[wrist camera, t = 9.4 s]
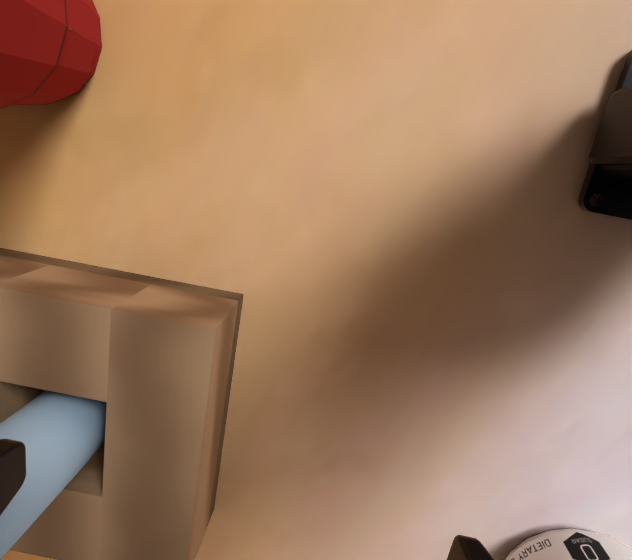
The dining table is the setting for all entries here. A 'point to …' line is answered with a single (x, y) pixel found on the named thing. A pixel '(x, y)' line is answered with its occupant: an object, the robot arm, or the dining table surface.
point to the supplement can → (571, 547)
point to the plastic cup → (46, 49)
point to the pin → (49, 453)
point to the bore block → (122, 400)
